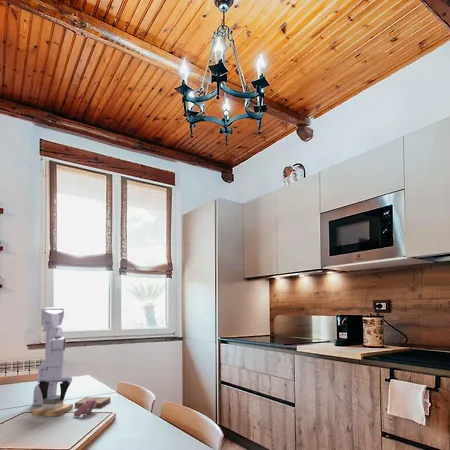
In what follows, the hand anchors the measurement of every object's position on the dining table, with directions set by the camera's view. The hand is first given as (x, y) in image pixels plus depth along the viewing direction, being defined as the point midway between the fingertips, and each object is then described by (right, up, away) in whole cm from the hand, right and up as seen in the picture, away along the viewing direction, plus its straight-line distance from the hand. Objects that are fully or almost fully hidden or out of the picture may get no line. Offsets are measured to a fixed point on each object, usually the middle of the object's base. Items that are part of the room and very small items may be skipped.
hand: (53, 400), depth 177 cm
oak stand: (0, -5, -1) cm, 5 cm away
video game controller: (+15, -4, -5) cm, 17 cm away
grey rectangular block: (0, -3, 0) cm, 3 cm away
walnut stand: (+13, -7, +12) cm, 19 cm away
